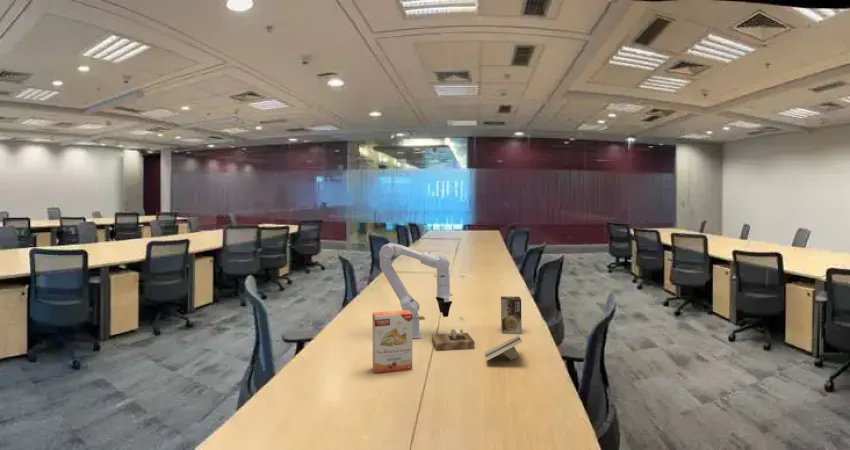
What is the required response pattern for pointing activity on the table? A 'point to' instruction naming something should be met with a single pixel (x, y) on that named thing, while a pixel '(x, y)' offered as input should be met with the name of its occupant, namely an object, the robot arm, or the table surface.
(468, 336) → the well block
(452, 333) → the grey block
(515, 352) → the grey slanted stand
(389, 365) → the cracker box
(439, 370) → the table surface
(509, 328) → the coffee box
